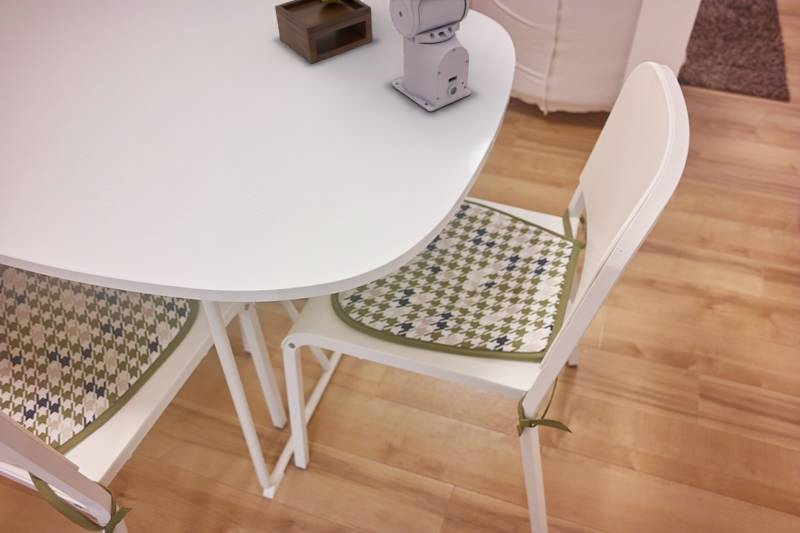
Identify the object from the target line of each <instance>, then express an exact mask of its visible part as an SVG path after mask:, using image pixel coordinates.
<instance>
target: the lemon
mask: <svg viewBox="0 0 800 533" xmlns="http://www.w3.org/2000/svg"><path fill="white" fill-rule="evenodd" d="M321 1H323V2H337V1H339V0H321Z"/></svg>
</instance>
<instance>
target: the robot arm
mask: <svg viewBox="0 0 800 533" xmlns="http://www.w3.org/2000/svg"><path fill="white" fill-rule="evenodd" d="M470 4H471V0H389V15H390V19H391V23H392V25H393V27H394V28H395V30H396V31H397V32H398V33H399V34H400V35H401V36H402V37H403V42H402V44H403V46H402V48H403V50H402V51H403V57H402V58H403V76H402V77H400V78H398V79H395V80H393V81H391V86H392V87H394V89H396V90H397V91H399V92H400V93H401V94H404V95H405V96H406V97H408V98H409V99H411V100H412V101H414V102H415V103H416V104H418V105H419V106H420V107H422V108H423V109H425V110H426V111H428V112H433V111H436V110H437V109H441V108H442V107H444V106H447V105H449V104H452V103H453V102H456V101H458V100H461V99H463V98H465V97H467V96H469V95H471V94H472V92H471V90H470V89H469V88H468V80H469V69H470V68H469V66H470V55H469V51H468V50H467V48H466V47H465V46H463V45H462V44H461V42H460V41H459V40H458V38H457V33H456V32H458V31H459V30H460V25H461V22H463V21H464V20H465V19H466V18H467V17H468V14H469V11H470Z"/></svg>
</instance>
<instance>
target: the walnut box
mask: <svg viewBox="0 0 800 533" xmlns="http://www.w3.org/2000/svg"><path fill="white" fill-rule="evenodd" d="M274 11H275V16H276V22H277V29H278V34H279V40H280V41H281V43H283V44H284V45H286V46H287V47H289V48H290V49H291V50H292V51H294V52H295V53H297V55H299V56H301V57H302V58H303V59H304V60H306V61H307V62H308V63H310V64H311V65H312V64H314V63H317V62H321V61H323V60H326V59H328V58H332V57H334V56H336V55H339V54H342V53H344V52H347V51H350V50H353V49H356V48H359V47H361V46H364V45H366V44H369V43H372V42H374V41H373V19H372V15H373V14H372V7H371V6H370V5H368V4H366V3H365V2H364V1H362V0H339V1H337V2H323V1H321V0H290V1H287V2H284V3H281V4H277V5H275V6H274Z"/></svg>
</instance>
